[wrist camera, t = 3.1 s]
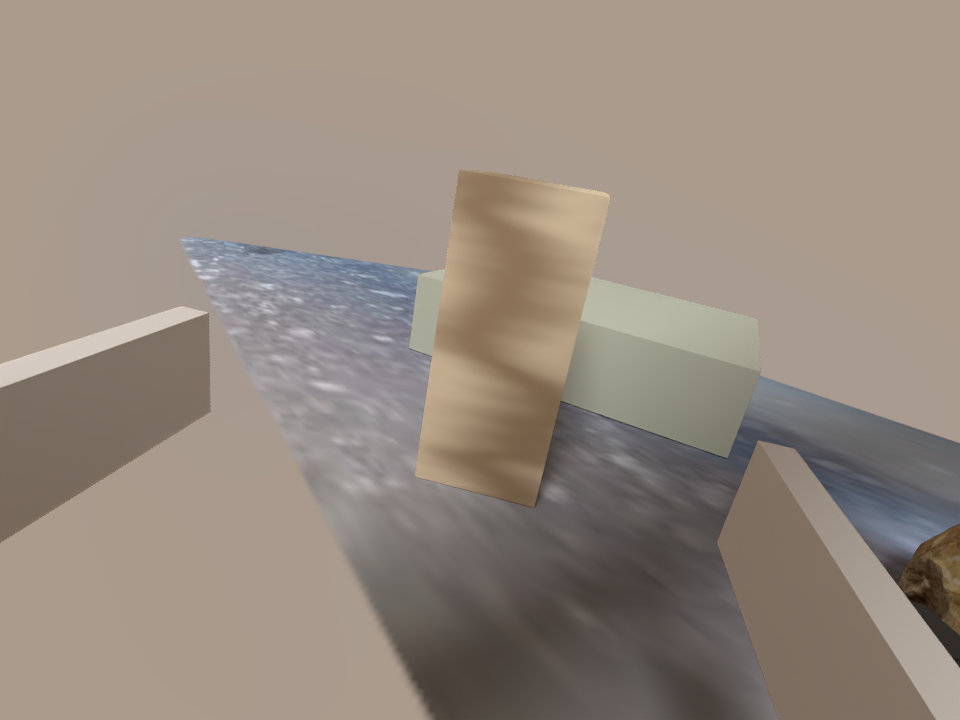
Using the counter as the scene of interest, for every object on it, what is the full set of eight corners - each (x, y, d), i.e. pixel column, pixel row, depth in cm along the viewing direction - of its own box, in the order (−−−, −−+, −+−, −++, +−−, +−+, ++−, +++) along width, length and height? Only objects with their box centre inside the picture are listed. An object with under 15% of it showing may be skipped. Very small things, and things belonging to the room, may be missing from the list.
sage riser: (733, 381, 40) (757, 318, 38) (727, 458, 28) (761, 371, 26) (496, 311, 47) (506, 255, 45) (409, 348, 35) (418, 274, 33)
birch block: (544, 448, 26) (606, 192, 22) (534, 508, 21) (610, 197, 17) (445, 423, 26) (486, 170, 22) (414, 476, 22) (459, 169, 18)
